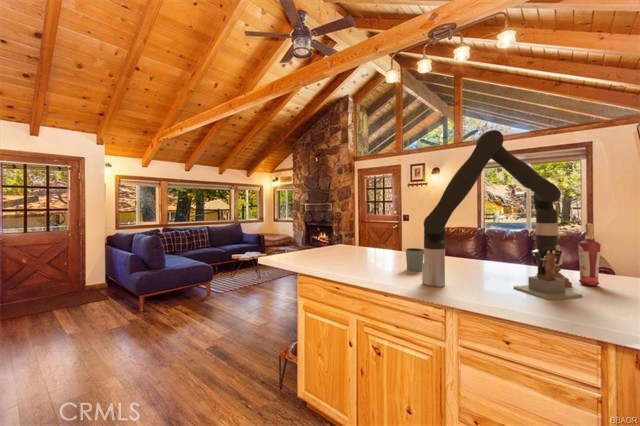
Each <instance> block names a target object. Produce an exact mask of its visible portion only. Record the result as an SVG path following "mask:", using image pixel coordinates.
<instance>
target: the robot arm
mask: <svg viewBox="0 0 640 426" xmlns="http://www.w3.org/2000/svg"><path fill="white" fill-rule="evenodd" d="M503 144H504V135H503V133H502V132H501V131H500V130H497V129H491V130H487V131H485V132H483V133H481V135H480V136H479V137H478V138H477V140H476V145H475V148H474V149H473V151H472V153H471V155H470V156H469V157H468V158H467V160H466V161H465V162H464V163H463V164H462V165H461V166H460V167H459V168H458V170H457V171H455V173H454V175H453V176H452V178H451V179H450V180H449V182H448V184H447V186H446V187H445V190H444V191H443V193H442V194H441V197H440V199H439V201H438V203H437V204H436V206H435V207H433V209H432V211H430V213H429V214H428V215H427V216H426V217H425V218H424V220H423V250H424V255H423V264H422V271H421V272H422V273H421V274H422V276H421V282H422V284H424V285H426V286H427V287H432V288H433V287H434V288H437V287H438V288H442V287H444V286H446V232H445V231H446V225H447V223H448V221H449V219H450V218H451V216H452V214H453V213H454V211H455V210H456V209H457V208H458V206H460V204H461V203H462V202H463V201H464V199H465V198H466V197H467V196H468V194H469V193H470V191H471V190H472V188H473V187H474V186H475V184H476V182H477V181H478V179H479V178H480V176H481V174H482V172H483V171H484V169H485V168H486V166H487V164H488V163H489V161H490V160H492V161H493V162H496V163H497V164H498V165H499V166H500V167H502V168H503V169H504V170H506V172H507V173H509V174H510V176H512V177H513V178H514V179H515V180H516V181H517V182H518V183H519V184H520V185H522V186H523V187H524V188H525V189H529V190H530V191H532V192H533V204H534V209H535V230H534V232H535V233H534V234H535V235H534V240H535V241H534V243H535V245H536V249H535V250H530V256H531V258H532V262H533V264H534V265H536V266H537V273H539V275H545V267H544V266H545V261H546V255H547V254H548V253H555V260H556V261H555V265H556V264H559V261H560V257H561V256H562V253H563V251H562V250H561V249H556V246H557V245H559V239H558V232H559V226H558V218H559V217H558V215H559V214H558V210H557V209H555V208H554V203H555V202H557V201H559V199H561V197H562V192H561V190H560V189H559V187H558V186H557V185H555V184H554V183H553V182H551V181H549V180H548V179H546V178H545V177H543V176H541V174H539V173H538V172H537V171H536V170H535V169H534V168H533V167H532V166H531V165H529V164H527V163H526V162H524V161H523V160H521V159H520V158H518V157H517V156H515V155H513V154H512V153H511V152H509V150H507V149H506V148H505V146H503ZM540 257H542V258H544V259H542V258H540ZM556 258H557V259H556ZM561 258H562V257H561ZM541 260H542V263H541Z"/></svg>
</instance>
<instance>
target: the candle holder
mask: <svg viewBox="0 0 640 426" xmlns="http://www.w3.org/2000/svg"><path fill="white" fill-rule="evenodd" d="M567 235H568V234H567V232H565V231H564V232H563V231H558V240H559V239H561V238H560V237H563V236H567ZM560 247H561V246H560V245H559V244H558V245H557V246H556V249H557V250H559V248H560ZM556 259H557V258H556ZM555 261H556V260H555ZM562 264H563V258H562V257H560V261H559V264H556V265H555V278H559V279H562V280H565V288H568V287H569V288H572V287H573V283H572V281H570V279H569V278H568V277H566V276H565V275H563V274H562V273H560V272H561V270H562V268H561V267H560V266H561V265H562ZM535 276H538V272H536V275H535Z"/></svg>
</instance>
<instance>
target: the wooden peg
mask: <svg viewBox="0 0 640 426" xmlns="http://www.w3.org/2000/svg"><path fill="white" fill-rule="evenodd" d="M540 258H542V257H540ZM542 259H544V258H542ZM541 263H542V260H541ZM544 267H545V275H539V273H538V272H537V273H538V278H539V279H543V280H547V281H549V280H555V253H548V254H547V255H546V261H545V266H544Z"/></svg>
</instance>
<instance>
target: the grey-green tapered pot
mask: <svg viewBox="0 0 640 426" xmlns="http://www.w3.org/2000/svg"><path fill="white" fill-rule="evenodd" d="M405 260H406V270H407V271H409V272H412V273H413V272H416V273H418V272H422V264H423V263H424V248H418V247H417V248H415V247H414V248H413V247H412V248H411V247H410V248H405Z"/></svg>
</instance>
